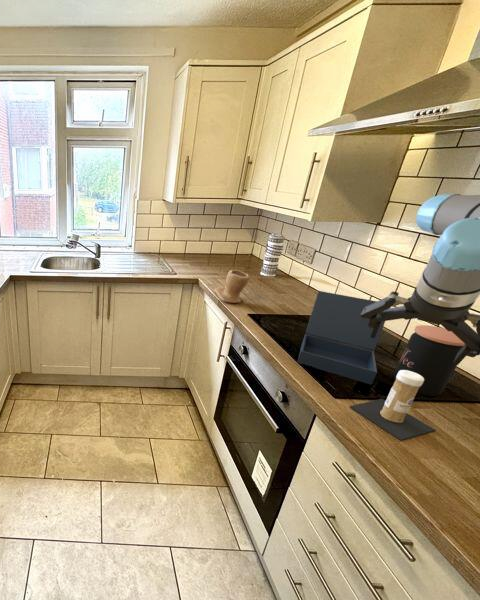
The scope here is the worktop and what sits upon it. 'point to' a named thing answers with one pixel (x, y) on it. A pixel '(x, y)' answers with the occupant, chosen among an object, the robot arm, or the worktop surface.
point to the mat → (398, 430)
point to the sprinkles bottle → (401, 395)
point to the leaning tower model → (272, 255)
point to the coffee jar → (430, 357)
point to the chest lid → (342, 320)
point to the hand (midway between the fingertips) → (413, 345)
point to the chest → (338, 358)
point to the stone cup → (233, 286)
